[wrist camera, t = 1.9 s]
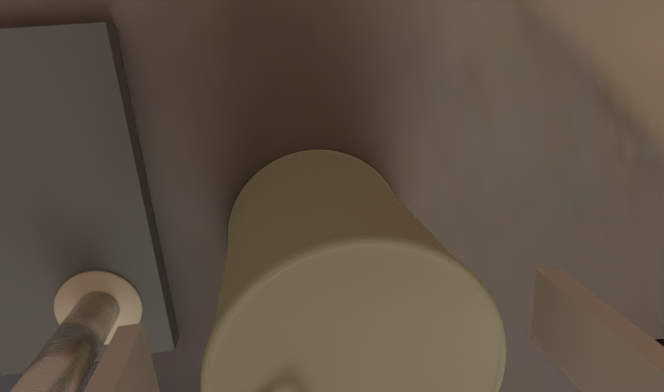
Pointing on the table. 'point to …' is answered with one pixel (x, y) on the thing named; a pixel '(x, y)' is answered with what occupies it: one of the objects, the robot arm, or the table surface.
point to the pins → (72, 346)
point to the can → (344, 291)
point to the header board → (72, 192)
